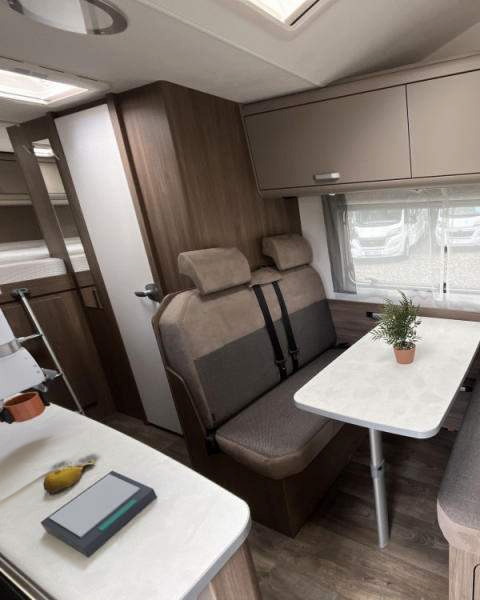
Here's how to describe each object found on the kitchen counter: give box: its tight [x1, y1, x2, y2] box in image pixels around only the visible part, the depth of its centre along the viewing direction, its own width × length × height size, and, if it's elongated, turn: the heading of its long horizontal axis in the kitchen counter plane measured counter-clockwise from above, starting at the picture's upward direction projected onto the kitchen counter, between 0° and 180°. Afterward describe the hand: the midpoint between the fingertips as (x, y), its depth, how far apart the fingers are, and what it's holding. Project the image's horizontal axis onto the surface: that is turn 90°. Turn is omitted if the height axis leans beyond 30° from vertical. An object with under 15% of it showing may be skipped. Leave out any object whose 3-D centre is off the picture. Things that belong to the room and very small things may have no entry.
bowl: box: [3, 391, 46, 424], centre depth 79 cm, size 6×6×5 cm
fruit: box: [42, 459, 96, 495], centre depth 71 cm, size 8×8×4 cm
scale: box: [40, 470, 158, 558], centre depth 63 cm, size 14×12×3 cm
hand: (27, 412), depth 79 cm, fingers closed on bowl, 6 cm apart
